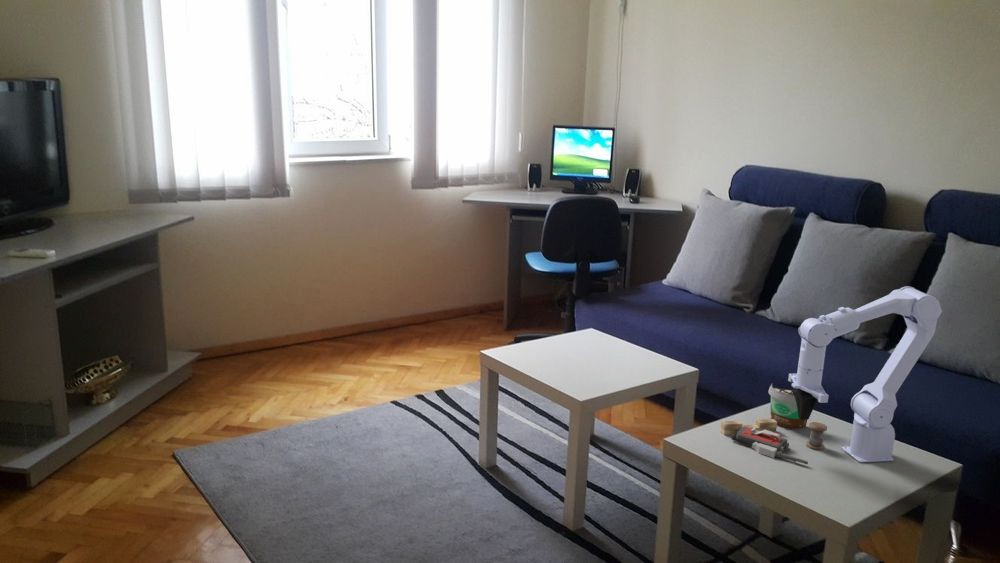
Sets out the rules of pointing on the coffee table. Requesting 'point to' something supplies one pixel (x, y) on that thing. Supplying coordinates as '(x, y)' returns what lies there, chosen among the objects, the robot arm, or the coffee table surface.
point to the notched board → (735, 426)
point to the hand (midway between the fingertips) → (803, 418)
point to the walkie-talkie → (765, 443)
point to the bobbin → (816, 436)
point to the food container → (785, 409)
